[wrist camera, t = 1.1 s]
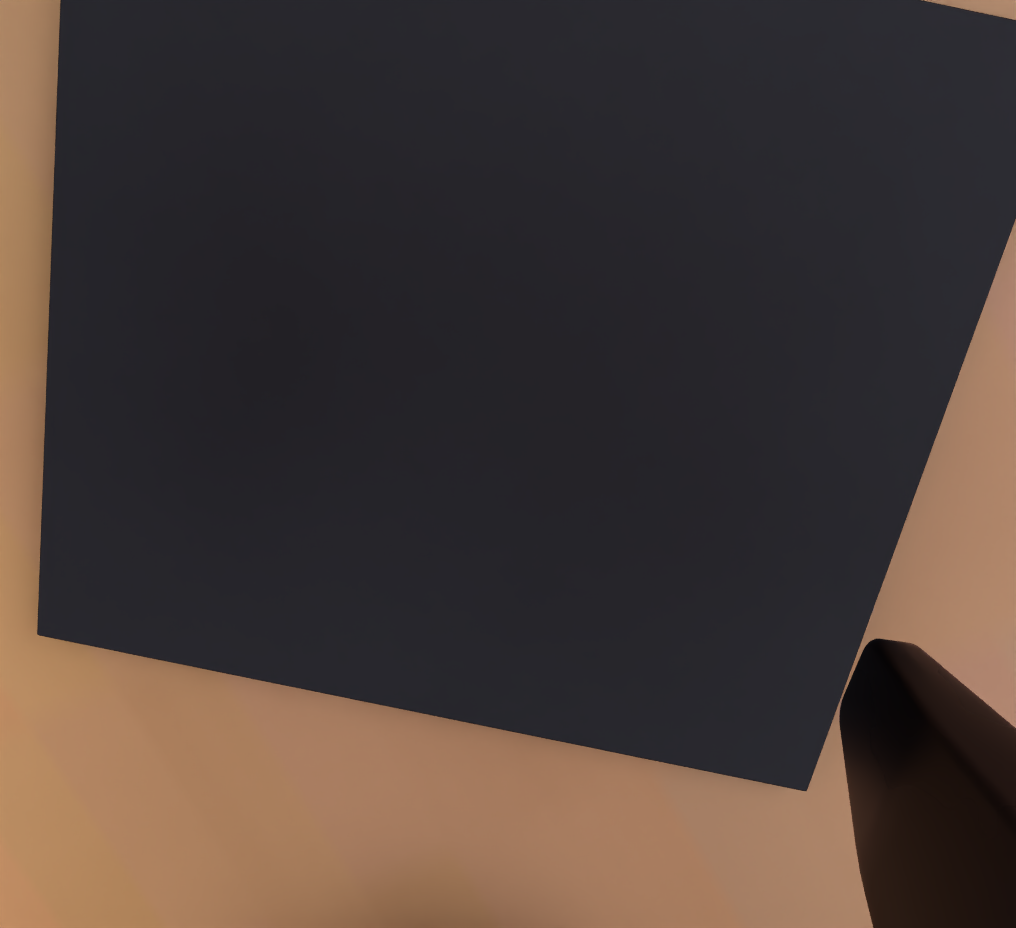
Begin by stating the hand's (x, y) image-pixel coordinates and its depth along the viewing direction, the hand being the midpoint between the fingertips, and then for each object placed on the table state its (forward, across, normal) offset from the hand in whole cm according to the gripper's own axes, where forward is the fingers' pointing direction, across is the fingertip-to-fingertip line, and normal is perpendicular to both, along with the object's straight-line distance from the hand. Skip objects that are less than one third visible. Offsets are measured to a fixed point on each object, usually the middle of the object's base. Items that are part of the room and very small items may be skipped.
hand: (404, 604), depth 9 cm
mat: (+12, 0, +3) cm, 13 cm away
